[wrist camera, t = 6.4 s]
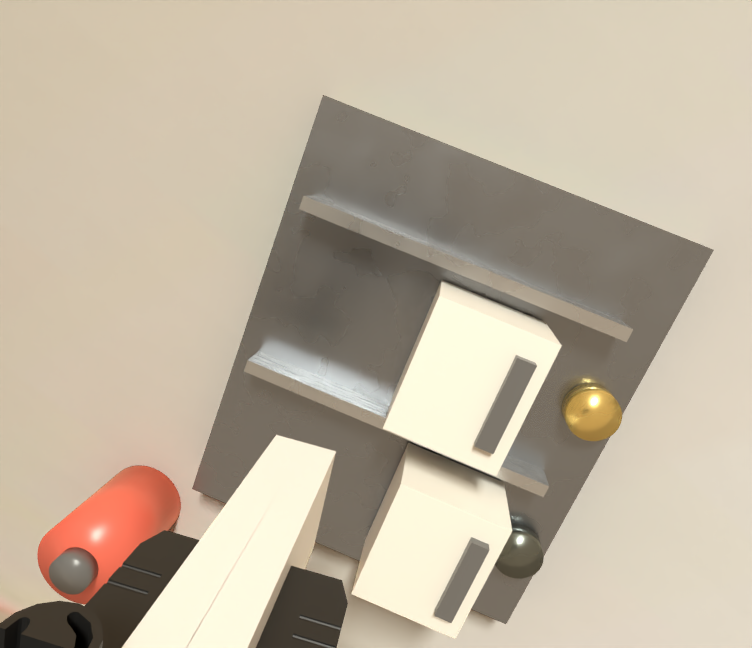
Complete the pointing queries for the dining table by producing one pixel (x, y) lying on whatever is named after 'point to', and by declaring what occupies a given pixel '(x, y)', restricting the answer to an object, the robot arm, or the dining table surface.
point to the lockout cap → (107, 531)
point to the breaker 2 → (433, 541)
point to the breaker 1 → (471, 378)
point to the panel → (409, 309)
